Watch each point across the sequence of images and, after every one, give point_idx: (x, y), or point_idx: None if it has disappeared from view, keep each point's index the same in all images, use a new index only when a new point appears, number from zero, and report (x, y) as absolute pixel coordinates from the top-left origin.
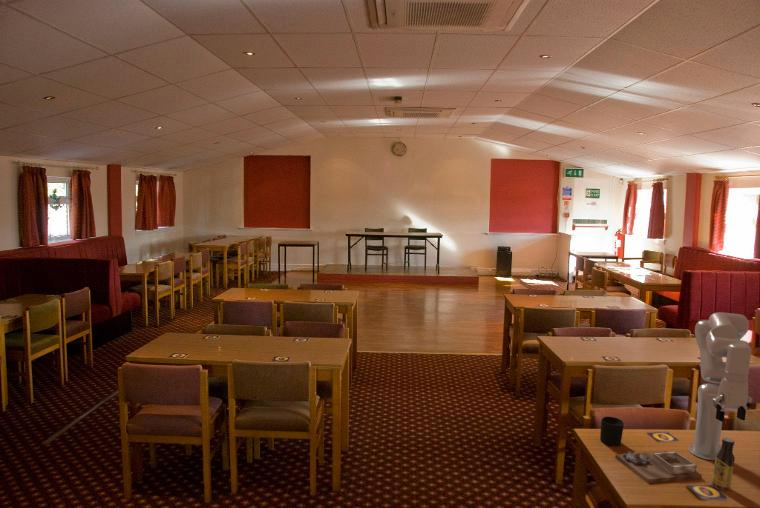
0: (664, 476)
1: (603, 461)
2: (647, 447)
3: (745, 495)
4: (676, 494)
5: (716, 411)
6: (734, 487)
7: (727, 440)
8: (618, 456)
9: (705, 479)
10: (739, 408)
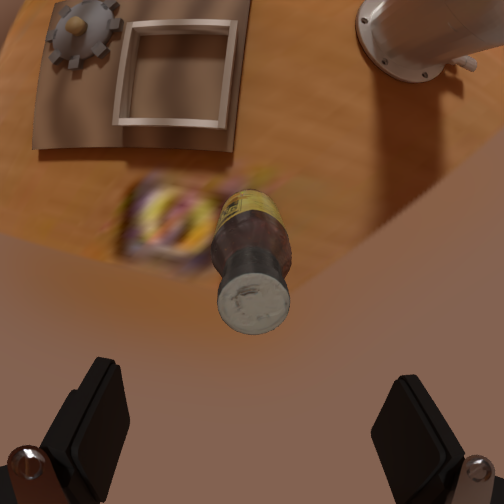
0: (86, 138)
1: (19, 30)
2: None
3: None
4: (72, 218)
5: (64, 414)
6: (297, 228)
7: (236, 311)
8: (53, 13)
9: (241, 161)
10: (437, 471)
